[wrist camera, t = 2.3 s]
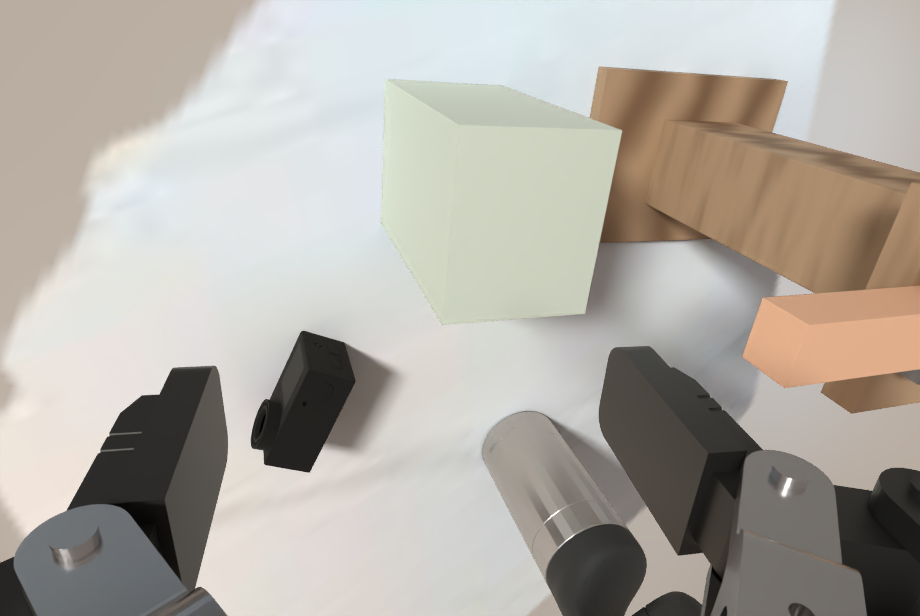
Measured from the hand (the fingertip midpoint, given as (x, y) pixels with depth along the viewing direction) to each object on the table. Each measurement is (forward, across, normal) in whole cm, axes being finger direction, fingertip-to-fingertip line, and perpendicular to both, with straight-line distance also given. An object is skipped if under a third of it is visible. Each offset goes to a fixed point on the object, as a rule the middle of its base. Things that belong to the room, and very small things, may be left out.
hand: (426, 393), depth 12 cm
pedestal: (+41, +7, -4) cm, 42 cm away
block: (+12, +27, -5) cm, 30 cm away
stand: (+45, +30, -4) cm, 54 cm away
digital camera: (+40, -7, -25) cm, 48 cm away
